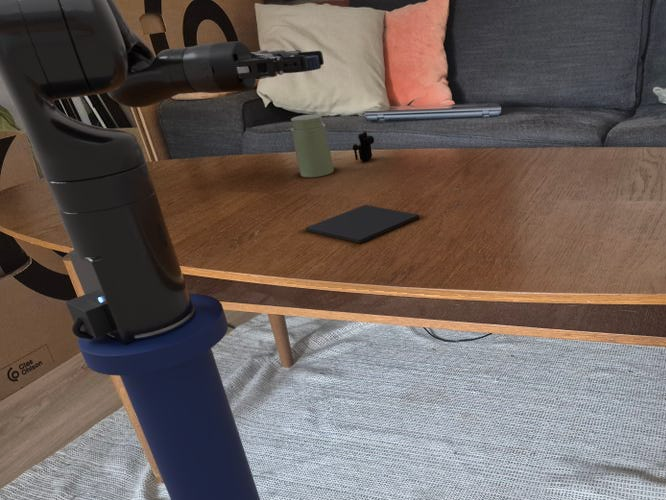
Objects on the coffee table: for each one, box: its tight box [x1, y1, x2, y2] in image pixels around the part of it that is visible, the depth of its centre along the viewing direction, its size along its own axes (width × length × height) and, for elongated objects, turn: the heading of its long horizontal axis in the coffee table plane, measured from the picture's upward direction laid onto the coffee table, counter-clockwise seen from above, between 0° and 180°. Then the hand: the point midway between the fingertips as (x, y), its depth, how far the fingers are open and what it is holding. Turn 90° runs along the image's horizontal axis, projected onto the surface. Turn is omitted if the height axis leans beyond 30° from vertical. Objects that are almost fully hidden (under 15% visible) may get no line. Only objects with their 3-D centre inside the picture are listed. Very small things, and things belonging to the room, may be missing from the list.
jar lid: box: [282, 55, 322, 74], centre depth 109 cm, size 7×7×2 cm
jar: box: [290, 113, 335, 178], centre depth 118 cm, size 6×6×10 cm
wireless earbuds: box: [352, 131, 375, 163], centre depth 124 cm, size 7×2×5 cm, turn 159°
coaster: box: [305, 204, 420, 244], centre depth 92 cm, size 11×11×1 cm
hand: (314, 60), depth 108 cm, fingers closed on jar lid, 6 cm apart
